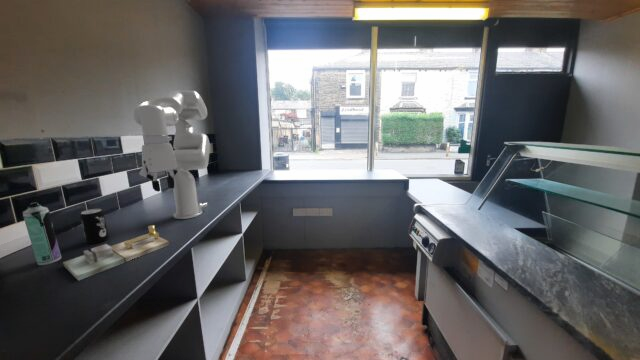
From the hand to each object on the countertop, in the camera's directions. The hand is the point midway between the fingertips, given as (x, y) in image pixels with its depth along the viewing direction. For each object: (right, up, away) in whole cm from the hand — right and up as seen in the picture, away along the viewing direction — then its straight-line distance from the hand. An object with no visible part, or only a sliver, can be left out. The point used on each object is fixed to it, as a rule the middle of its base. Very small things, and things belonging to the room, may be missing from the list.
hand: (164, 188), depth 95 cm
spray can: (-30, -23, -12) cm, 40 cm away
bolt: (-5, -19, -4) cm, 20 cm away
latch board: (-9, -22, -10) cm, 26 cm away
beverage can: (-27, -20, +2) cm, 33 cm away
